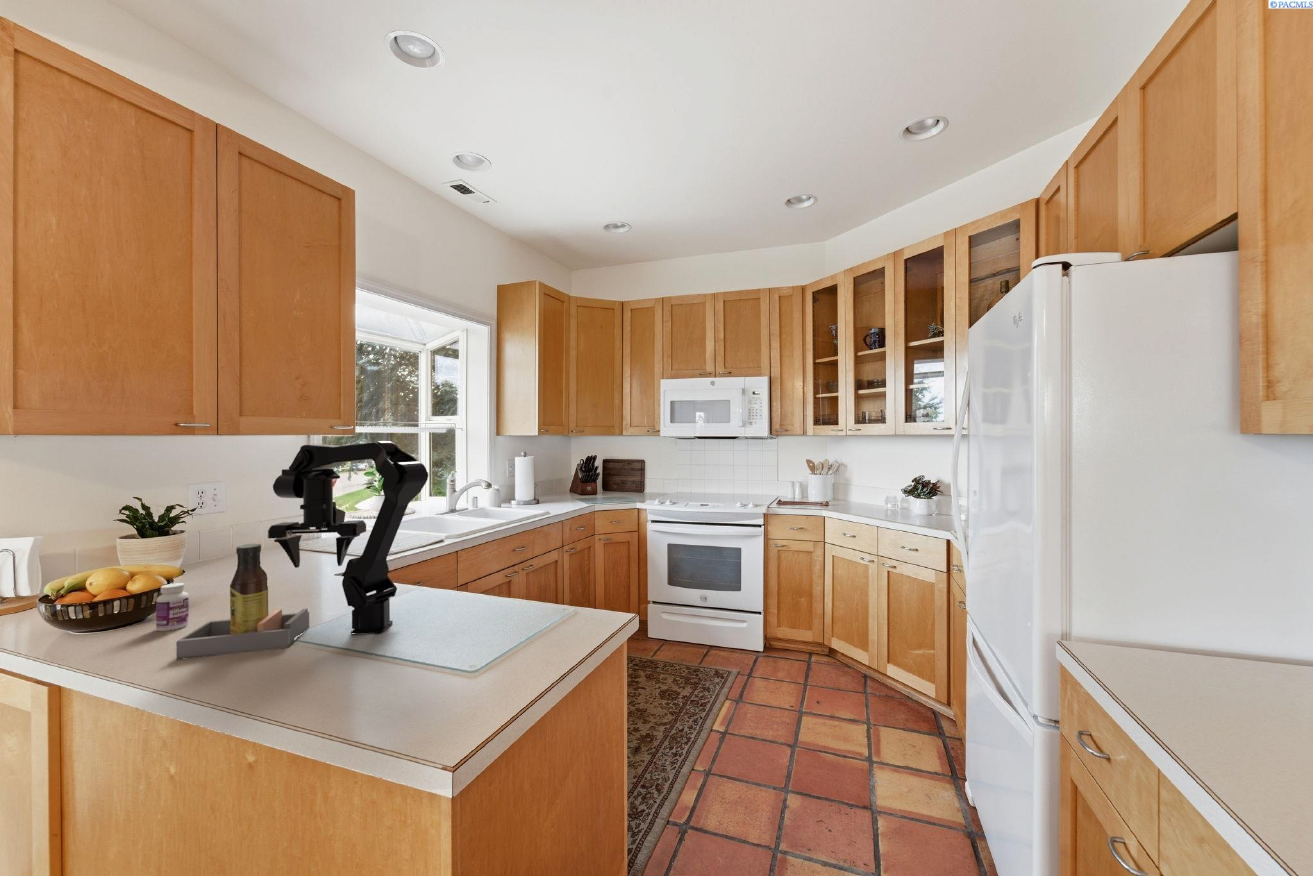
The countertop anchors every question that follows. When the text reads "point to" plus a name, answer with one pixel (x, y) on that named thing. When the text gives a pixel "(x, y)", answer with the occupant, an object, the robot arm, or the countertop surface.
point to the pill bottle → (172, 607)
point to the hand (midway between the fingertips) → (318, 566)
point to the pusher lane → (240, 637)
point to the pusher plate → (271, 622)
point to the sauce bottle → (248, 591)
